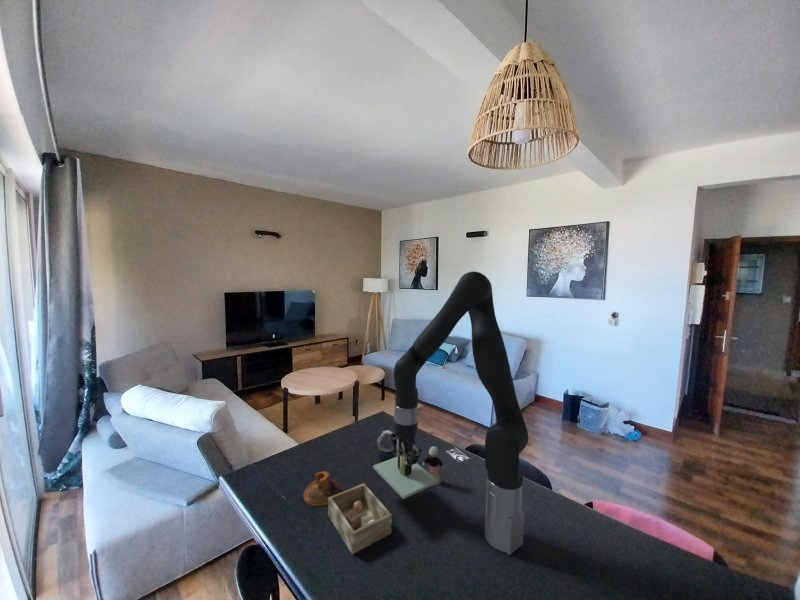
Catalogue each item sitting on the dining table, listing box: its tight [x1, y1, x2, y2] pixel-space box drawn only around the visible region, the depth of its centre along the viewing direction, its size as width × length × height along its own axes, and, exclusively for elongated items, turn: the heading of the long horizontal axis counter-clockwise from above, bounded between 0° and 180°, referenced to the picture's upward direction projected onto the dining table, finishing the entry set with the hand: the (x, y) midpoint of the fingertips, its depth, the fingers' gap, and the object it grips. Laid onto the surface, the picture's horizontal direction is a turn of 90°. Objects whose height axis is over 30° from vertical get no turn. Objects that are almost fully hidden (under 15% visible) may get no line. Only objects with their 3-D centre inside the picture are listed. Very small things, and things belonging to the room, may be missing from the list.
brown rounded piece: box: [302, 470, 342, 507], centre depth 101 cm, size 12×12×7 cm
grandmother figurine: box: [421, 446, 445, 486], centre depth 109 cm, size 8×4×13 cm, turn 84°
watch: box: [376, 429, 395, 463], centre depth 123 cm, size 6×8×11 cm
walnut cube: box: [344, 509, 361, 531], centre depth 88 cm, size 4×4×4 cm
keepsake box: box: [327, 482, 393, 555], centre depth 89 cm, size 16×12×6 cm
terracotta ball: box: [353, 501, 363, 512], centre depth 94 cm, size 3×3×3 cm
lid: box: [372, 454, 438, 500], centre depth 98 cm, size 17×13×6 cm
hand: (404, 471), depth 98 cm, fingers closed on lid, 3 cm apart
